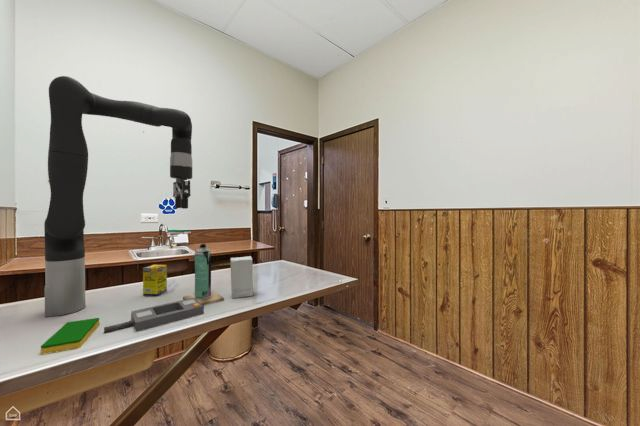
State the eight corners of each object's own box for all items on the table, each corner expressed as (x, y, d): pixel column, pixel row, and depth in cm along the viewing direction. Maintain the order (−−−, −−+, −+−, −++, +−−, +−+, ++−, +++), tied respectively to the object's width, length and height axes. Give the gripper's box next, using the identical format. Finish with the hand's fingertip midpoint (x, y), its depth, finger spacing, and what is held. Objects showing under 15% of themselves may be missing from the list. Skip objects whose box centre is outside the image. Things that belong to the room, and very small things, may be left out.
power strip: (105, 339, 66) (105, 328, 66) (103, 326, 73) (103, 316, 73) (203, 313, 82) (203, 304, 82) (194, 304, 90) (194, 296, 90)
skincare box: (251, 291, 104) (252, 255, 104) (253, 296, 98) (253, 258, 98) (230, 293, 101) (230, 256, 101) (230, 299, 96) (230, 260, 95)
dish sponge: (99, 325, 75) (99, 317, 74) (79, 349, 62) (79, 339, 62) (67, 330, 71) (67, 321, 71) (40, 356, 59) (39, 346, 59)
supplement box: (157, 296, 97) (157, 268, 97) (142, 295, 98) (142, 267, 97) (167, 291, 103) (167, 264, 103) (153, 290, 103) (152, 264, 103)
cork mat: (192, 308, 87) (192, 305, 86) (183, 299, 95) (183, 296, 95) (223, 300, 94) (223, 297, 94) (213, 292, 102) (213, 290, 102)
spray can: (214, 295, 96) (214, 243, 95) (203, 300, 91) (203, 245, 90) (202, 293, 98) (202, 242, 97) (191, 298, 93) (191, 244, 92)
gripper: (165, 166, 99) (166, 208, 100) (175, 162, 89) (175, 208, 89) (186, 168, 104) (186, 208, 105) (197, 165, 94) (197, 208, 94)
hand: (181, 208), depth 97 cm, fingers open, 8 cm apart
